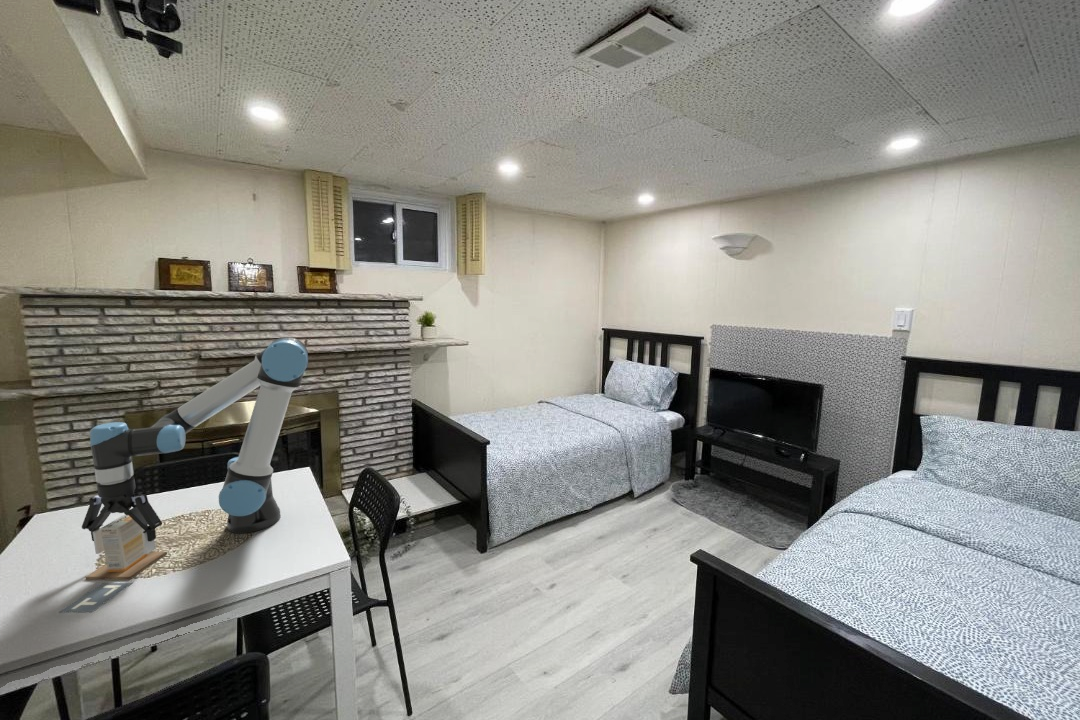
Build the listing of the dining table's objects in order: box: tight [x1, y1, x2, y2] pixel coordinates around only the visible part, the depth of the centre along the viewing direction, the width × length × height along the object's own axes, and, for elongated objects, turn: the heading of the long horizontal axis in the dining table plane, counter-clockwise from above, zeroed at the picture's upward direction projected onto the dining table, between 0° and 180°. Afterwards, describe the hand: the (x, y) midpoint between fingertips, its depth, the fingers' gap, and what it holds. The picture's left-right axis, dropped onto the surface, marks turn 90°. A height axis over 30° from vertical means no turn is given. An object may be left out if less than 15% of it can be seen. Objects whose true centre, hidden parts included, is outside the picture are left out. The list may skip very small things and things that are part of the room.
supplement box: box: [100, 513, 148, 572], centre depth 126 cm, size 8×5×13 cm, turn 3°
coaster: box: [84, 550, 168, 581], centre depth 127 cm, size 12×12×1 cm
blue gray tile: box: [58, 582, 133, 613], centre depth 114 cm, size 8×11×1 cm
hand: (126, 551), depth 126 cm, fingers open, 13 cm apart
